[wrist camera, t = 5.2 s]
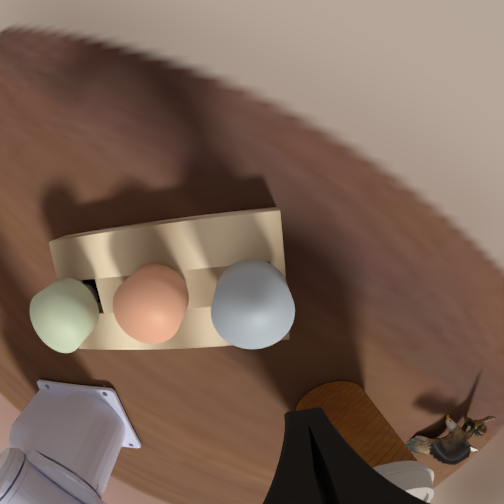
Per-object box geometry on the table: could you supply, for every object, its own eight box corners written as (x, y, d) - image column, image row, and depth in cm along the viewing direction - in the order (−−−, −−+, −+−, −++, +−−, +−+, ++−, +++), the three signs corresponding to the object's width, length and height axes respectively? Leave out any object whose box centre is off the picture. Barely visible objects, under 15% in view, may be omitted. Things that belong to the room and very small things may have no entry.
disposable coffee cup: (288, 362, 21) (318, 502, 9) (397, 363, 21) (468, 465, 10) (267, 441, 23) (276, 553, 11) (361, 438, 24) (397, 532, 12)
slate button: (223, 314, 18) (217, 352, 14) (214, 253, 17) (204, 278, 13) (285, 307, 18) (296, 344, 14) (281, 246, 17) (292, 269, 13)
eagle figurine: (482, 389, 22) (423, 434, 21) (505, 436, 17) (448, 487, 16) (451, 408, 27) (397, 444, 26) (471, 448, 23) (418, 488, 21)
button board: (90, 336, 20) (79, 348, 18) (64, 235, 18) (48, 241, 16) (286, 324, 20) (289, 339, 18) (276, 206, 18) (280, 210, 16)
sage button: (73, 321, 18) (42, 351, 14) (58, 270, 17) (22, 292, 13) (117, 320, 18) (90, 354, 14) (103, 265, 17) (69, 289, 13)
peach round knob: (145, 312, 19) (123, 344, 15) (132, 258, 18) (105, 280, 14) (198, 308, 19) (187, 342, 15) (189, 252, 18) (173, 274, 14)
